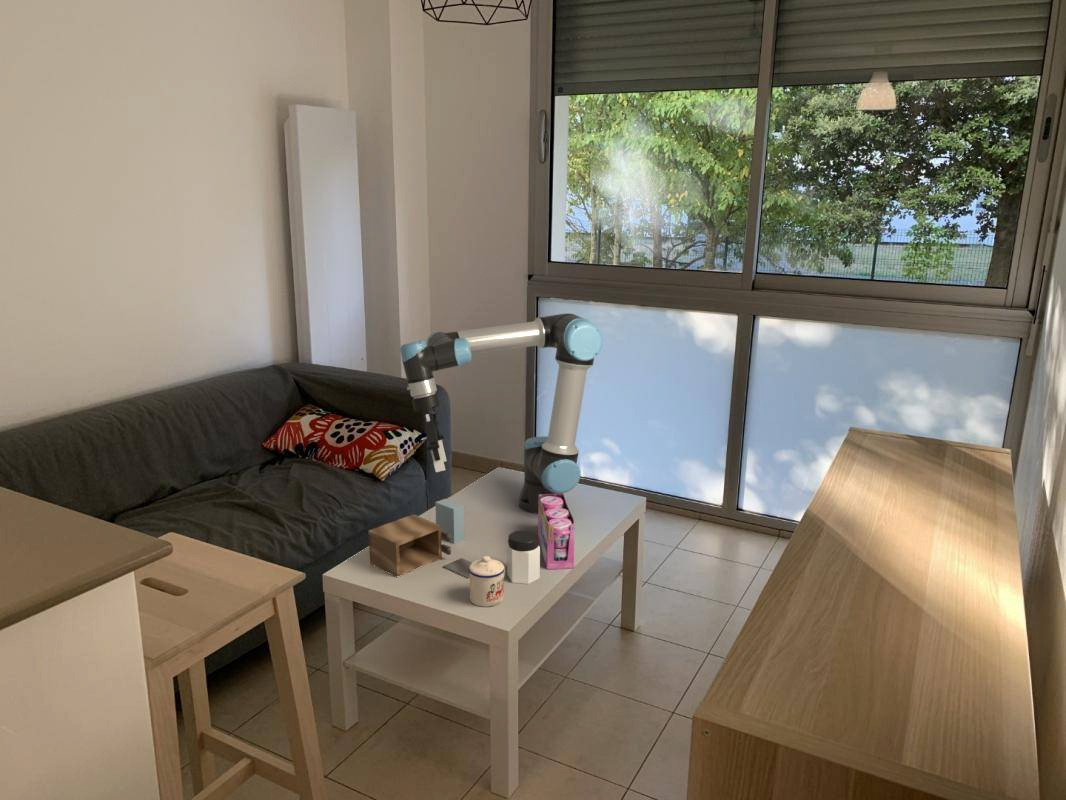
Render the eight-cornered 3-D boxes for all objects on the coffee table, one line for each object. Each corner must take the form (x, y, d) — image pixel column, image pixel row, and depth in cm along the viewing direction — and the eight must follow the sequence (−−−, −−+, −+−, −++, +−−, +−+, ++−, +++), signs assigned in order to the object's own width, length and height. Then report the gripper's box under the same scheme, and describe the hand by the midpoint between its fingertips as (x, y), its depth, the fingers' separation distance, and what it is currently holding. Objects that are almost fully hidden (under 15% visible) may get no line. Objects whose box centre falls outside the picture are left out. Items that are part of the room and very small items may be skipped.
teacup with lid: (490, 611, 205) (490, 568, 202) (461, 601, 210) (461, 559, 207) (518, 592, 214) (518, 551, 211) (489, 583, 219) (489, 542, 216)
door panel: (436, 536, 248) (435, 502, 245) (446, 532, 251) (445, 498, 248) (454, 544, 243) (453, 509, 240) (464, 539, 246) (463, 505, 243)
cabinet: (423, 542, 244) (422, 510, 241) (486, 570, 226) (486, 536, 224) (369, 563, 230) (368, 530, 227) (432, 595, 212) (431, 559, 210)
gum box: (575, 571, 226) (576, 525, 223) (546, 572, 226) (547, 526, 222) (563, 535, 250) (564, 493, 246) (537, 536, 249) (537, 494, 245)
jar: (523, 566, 229) (523, 526, 225) (545, 576, 223) (546, 535, 220) (501, 577, 222) (500, 536, 219) (523, 587, 217) (523, 545, 214)
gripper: (414, 393, 247) (430, 461, 250) (408, 403, 222) (426, 478, 225) (438, 388, 248) (455, 455, 250) (435, 396, 223) (453, 471, 225)
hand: (441, 466), depth 238 cm, fingers open, 13 cm apart
